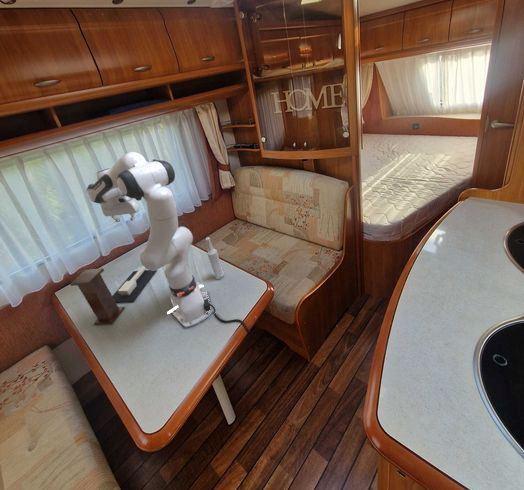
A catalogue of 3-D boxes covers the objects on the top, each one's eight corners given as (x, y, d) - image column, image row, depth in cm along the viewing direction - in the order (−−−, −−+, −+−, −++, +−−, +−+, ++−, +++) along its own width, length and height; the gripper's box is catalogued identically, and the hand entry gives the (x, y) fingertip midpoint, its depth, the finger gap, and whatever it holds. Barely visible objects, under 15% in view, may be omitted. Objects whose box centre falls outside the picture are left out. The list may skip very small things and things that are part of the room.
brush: (129, 295, 148) (127, 290, 147) (120, 295, 149) (117, 291, 148) (150, 269, 167) (148, 265, 166) (142, 270, 169) (140, 265, 167)
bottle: (222, 279, 146) (210, 241, 136) (213, 279, 148) (201, 241, 137) (225, 273, 151) (214, 235, 141) (217, 273, 152) (205, 236, 142)
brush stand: (112, 324, 131) (88, 282, 121) (94, 324, 133) (69, 283, 123) (124, 308, 140) (103, 268, 130) (107, 308, 142) (85, 269, 132)
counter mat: (133, 302, 143) (132, 301, 143) (107, 303, 147) (106, 302, 146) (156, 270, 167) (156, 269, 166) (134, 272, 170) (133, 271, 169)
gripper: (94, 203, 143) (105, 225, 149) (128, 198, 139) (138, 221, 145) (102, 198, 149) (113, 220, 155) (135, 193, 145) (144, 216, 151)
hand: (125, 220), depth 150 cm, fingers open, 8 cm apart
